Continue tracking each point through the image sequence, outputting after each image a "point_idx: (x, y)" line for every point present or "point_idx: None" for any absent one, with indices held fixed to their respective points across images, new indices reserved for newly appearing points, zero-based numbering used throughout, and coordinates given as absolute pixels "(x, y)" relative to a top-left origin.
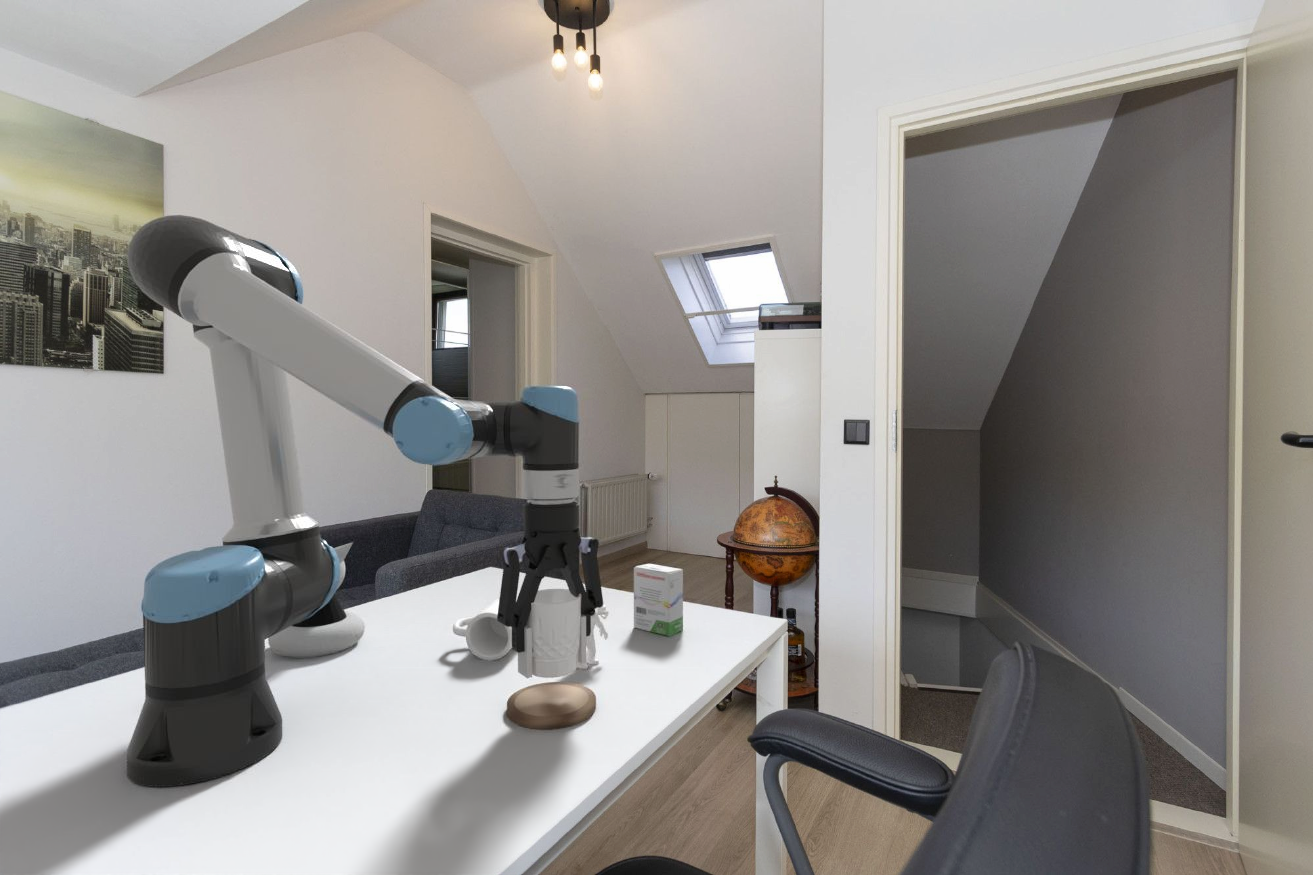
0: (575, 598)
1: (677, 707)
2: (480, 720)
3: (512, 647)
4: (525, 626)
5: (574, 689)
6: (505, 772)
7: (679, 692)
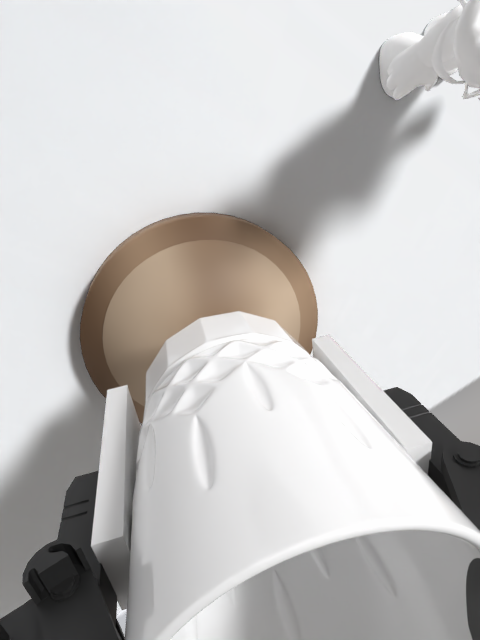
0: (460, 564)
1: (424, 405)
2: (3, 325)
3: (69, 491)
4: (124, 582)
5: (282, 303)
6: (49, 530)
7: (472, 350)
